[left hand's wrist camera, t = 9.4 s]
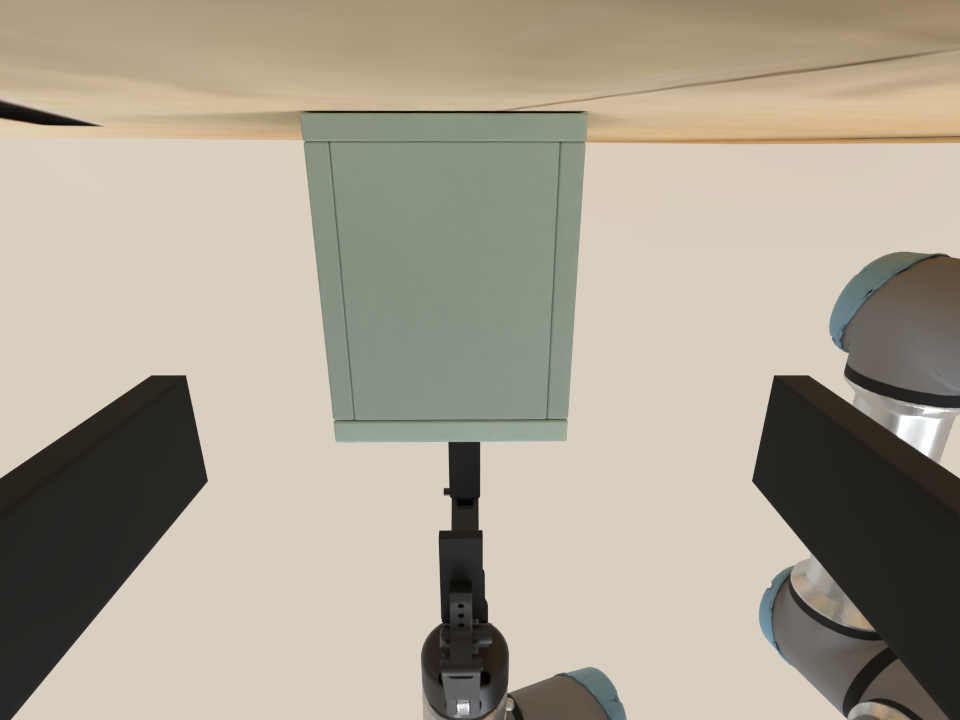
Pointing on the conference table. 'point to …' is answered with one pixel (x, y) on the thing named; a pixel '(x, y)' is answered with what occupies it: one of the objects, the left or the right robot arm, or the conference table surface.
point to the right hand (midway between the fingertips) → (462, 473)
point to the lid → (451, 430)
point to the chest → (447, 261)
